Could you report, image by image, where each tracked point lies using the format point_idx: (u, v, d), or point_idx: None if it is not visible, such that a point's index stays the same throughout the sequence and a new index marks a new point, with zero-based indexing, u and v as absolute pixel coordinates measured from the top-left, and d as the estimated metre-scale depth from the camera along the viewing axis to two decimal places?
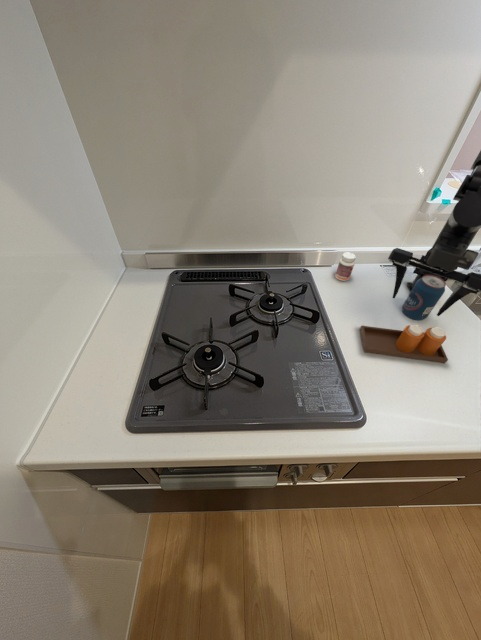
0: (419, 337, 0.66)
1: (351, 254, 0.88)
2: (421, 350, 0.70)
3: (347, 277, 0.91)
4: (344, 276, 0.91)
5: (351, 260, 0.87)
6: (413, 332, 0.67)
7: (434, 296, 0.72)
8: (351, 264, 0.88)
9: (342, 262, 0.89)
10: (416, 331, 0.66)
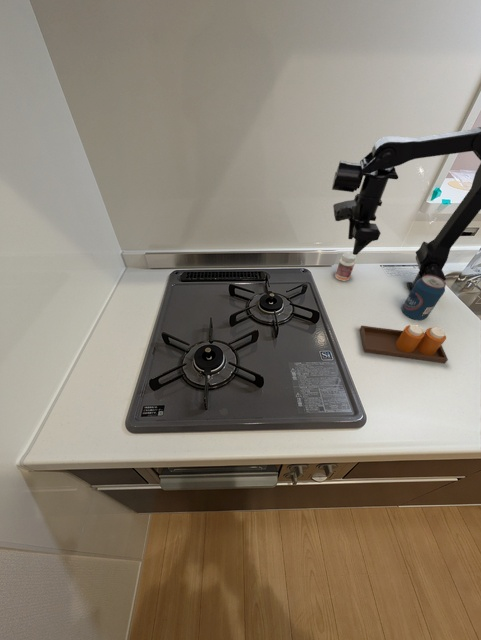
0: (419, 337, 0.66)
1: (351, 254, 0.88)
2: (421, 350, 0.70)
3: (347, 277, 0.91)
4: (344, 276, 0.91)
5: (351, 260, 0.87)
6: (413, 332, 0.67)
7: (434, 296, 0.72)
8: (351, 264, 0.88)
9: (342, 262, 0.89)
10: (416, 331, 0.66)
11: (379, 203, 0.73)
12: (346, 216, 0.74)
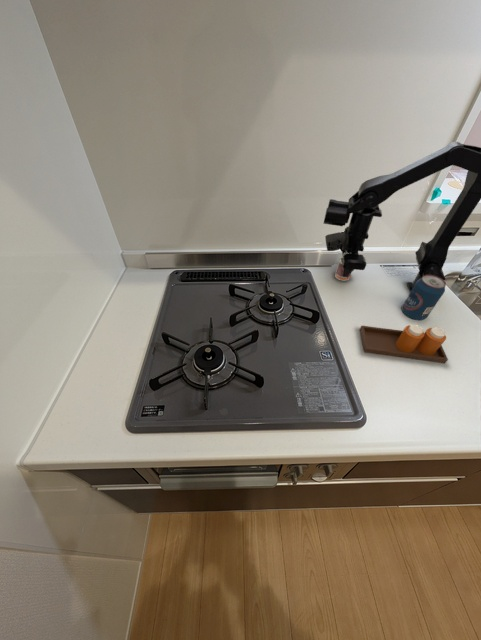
0: (419, 337, 0.66)
1: None
2: (421, 350, 0.70)
3: (347, 277, 0.91)
4: None
5: None
6: (413, 332, 0.67)
7: (434, 296, 0.72)
8: None
9: None
10: (416, 331, 0.66)
11: (366, 236, 0.80)
12: (336, 247, 0.82)
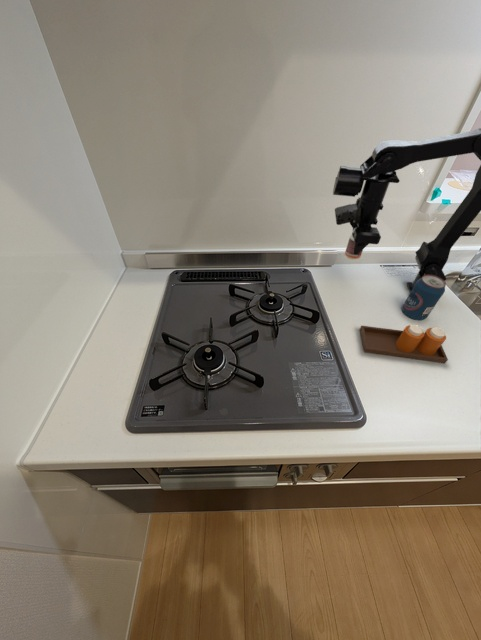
0: (419, 337, 0.66)
1: None
2: (421, 350, 0.70)
3: (358, 255, 0.83)
4: None
5: None
6: (413, 332, 0.67)
7: (434, 296, 0.72)
8: None
9: (353, 238, 0.81)
10: (416, 331, 0.66)
11: (380, 207, 0.73)
12: (347, 220, 0.75)
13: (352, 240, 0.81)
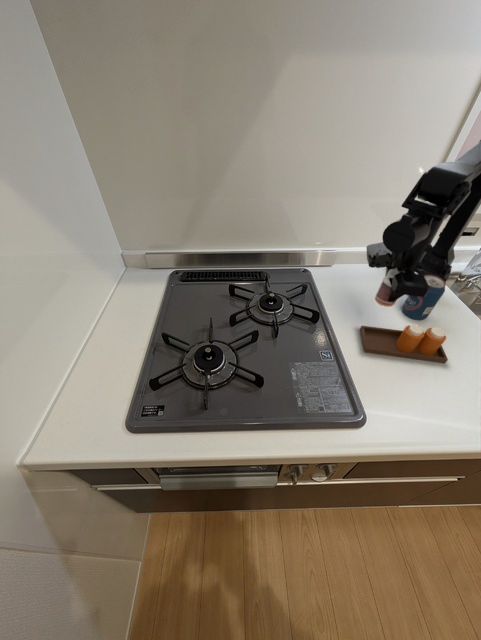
0: (419, 337, 0.66)
1: None
2: (421, 350, 0.70)
3: (393, 302, 0.67)
4: None
5: None
6: (413, 332, 0.67)
7: (434, 296, 0.72)
8: None
9: (388, 282, 0.64)
10: (416, 331, 0.66)
11: (429, 249, 0.56)
12: (384, 264, 0.58)
13: (387, 285, 0.65)
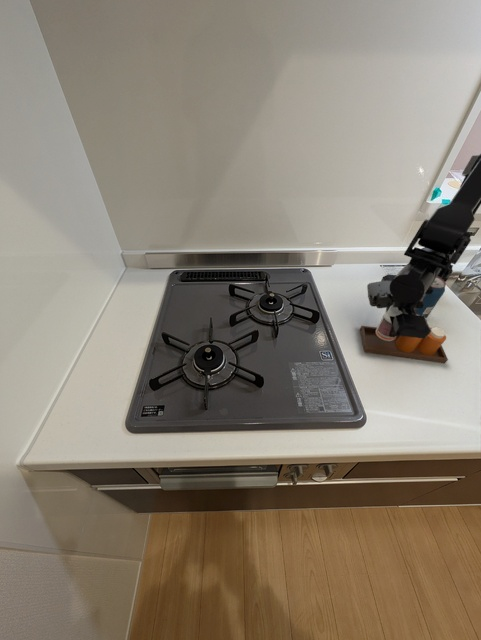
0: None
1: None
2: (421, 350, 0.70)
3: (394, 337, 0.68)
4: None
5: None
6: None
7: (434, 296, 0.72)
8: None
9: (389, 319, 0.65)
10: None
11: (429, 291, 0.57)
12: (385, 305, 0.59)
13: (388, 321, 0.65)
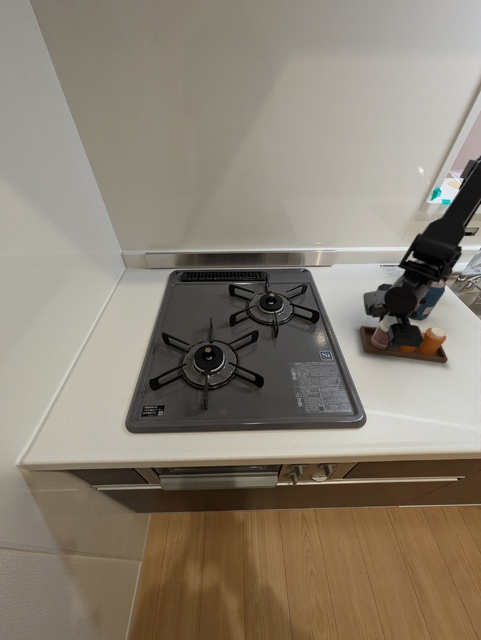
0: None
1: (395, 318, 0.67)
2: (421, 350, 0.70)
3: None
4: (385, 344, 0.69)
5: None
6: None
7: (434, 296, 0.72)
8: None
9: (383, 328, 0.67)
10: None
11: (423, 301, 0.59)
12: (380, 314, 0.61)
13: (383, 330, 0.67)
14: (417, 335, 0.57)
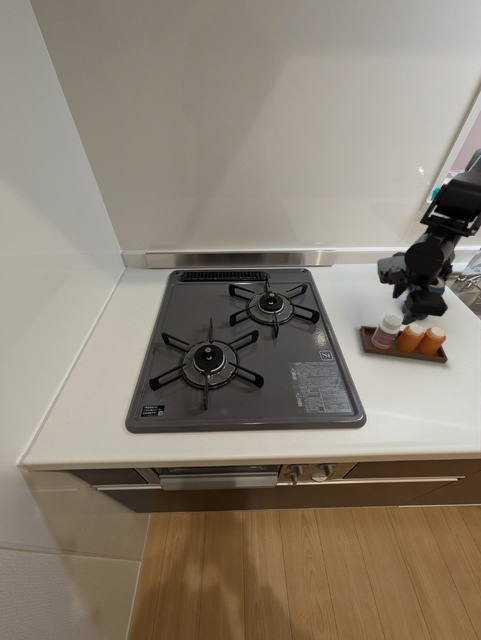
0: (419, 337, 0.66)
1: (395, 318, 0.67)
2: (421, 350, 0.70)
3: (388, 345, 0.70)
4: (385, 344, 0.69)
5: (396, 327, 0.66)
6: (413, 332, 0.67)
7: None
8: (396, 331, 0.67)
9: (383, 328, 0.67)
10: (416, 331, 0.66)
11: (446, 265, 0.52)
12: (397, 281, 0.54)
13: (383, 330, 0.67)
14: (440, 302, 0.51)
